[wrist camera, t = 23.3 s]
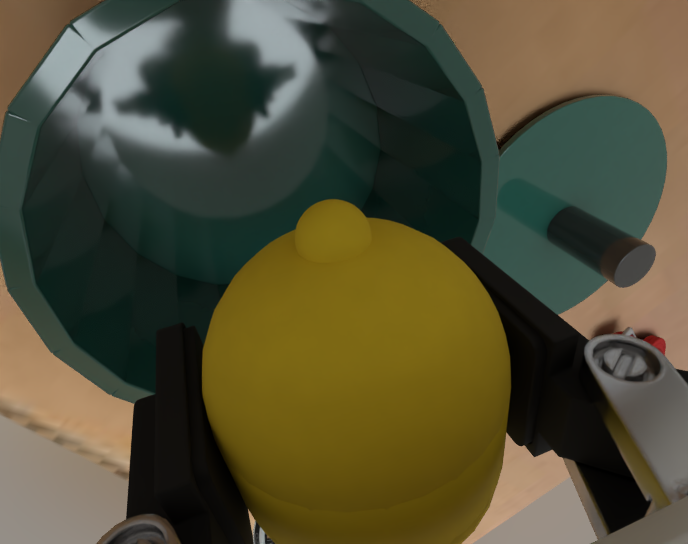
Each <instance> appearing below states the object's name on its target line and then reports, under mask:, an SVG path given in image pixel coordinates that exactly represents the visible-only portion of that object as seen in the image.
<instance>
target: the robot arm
mask: <svg viewBox="0 0 688 544" xmlns="http://www.w3.org/2000/svg"><path fill="white" fill-rule="evenodd" d="M440 243H441V244H443V245H444V246H446V247H447V248H448V249H449V250H450V251H452V252H453V253H454V254H455V255H456V256H458V257H459V258H460V259H461V260H462V261H464V263H465V264H466V265H467V266H468V267H469V268H470V269H471V270H472V271H473V273H474V274H475V275H476V276H477V278H478V279H479V281H480V282H481V283H482V285H483V286H484V288H485V289H486V291H487V292H488V294H489V295H490V297H491V299H492V301H493V303H494V305H495V307H496V309H497V311H498V313H499V316H500V319H501V322H502V325H503V328H504V331H505V334H506V339H507V344H508V349H509V354H510V367H511V393H510V402H509V411H508V421H507V430H506V432H507V433H508V435H509V436H510V437H511V438H512V440H513V441H514V442H515V443H516V444H517V445H519V446H523V445H525V446H526V448H527V449H528V450H529V451H530V453H531V454H532V455H533V456H534V457H536V456H538V455H541V454H543V453H545V452H548V451H550V450H552V449H553V450H554V452H555V453H556V454H557V455H558V456H559V457H562V458H563V460H564V462H565V465H566V467H567V469H568V472H569V474H570V476H571V479H572V481H573V483H574V486H575V488H576V490H577V492H578V495H579V497H580V499H581V502H582V504H583V506H584V509H585V511H586V513H587V515H588V518H589V520H590V522H591V525H592V527H593V530H594V532H595V534H596V536H597V539H598V540H597V541H595V542H593V543H591V544H688V371H683V370H678V369H675V368H674V367H673V365H672V364H671V363H670V362H669V360H668V359H667V358H666V357H665V356H664V355H663V354H662V353H661V352H660V351H659V350H658V349H657V348H656V347H654V346H652V345H651V344H649V343H647V342H646V341H643V340H641V339H638V338H635V337H633V336H627V335H622V334H605V335H600V336H597V337H595V338H593V339H591V340H588V339H586V338H585V337H584V336H583V335H581V334H580V333H579V332H578V331H577V330H575V329H574V328H573V327H572V326H570V325H569V324H568V323H567V322H566V321H564V320H563V319H562V318H561V317H559V316H558V315H557V314H556V313H554V312H553V311H552V310H551V309H549V308H548V307H547V306H546V305H545V304H543V303H542V302H541V301H540V300H538V299H537V298H536V297H535V296H533V295H532V294H531V293H530V292H528V291H527V290H526V289H525V288H524V287H522V286H521V285H520V284H519V283H517V282H516V281H515V280H514V279H512V278H511V277H510V276H509V275H507V274H506V273H505V272H504V271H503V270H501V269H500V268H499V267H498V266H496V265H495V264H494V263H493V262H491V261H490V260H489V259H488V258H487V257H485V256H484V255H483V254H482V253H480V252H479V251H478V250H477V249H475V248H474V247H473V246H472V245H470V244H469V243H468V242H467V241H466V240H464V239H463V238H461V237H456V238H452V239H449V240H446V241H443V242H440ZM203 347H204V345H203V343H202V341H201V338H200V336H199V334H198V331H197V329H196V327H195V326H191V327H188V328H186V326H185V324H184V323H183V322H182V323H179V324H175V325H172V326H169V327H166V328H162V329H159V330H157V333H156V390H155V394H153V395H150V396H147V397H144V398H141V399H138V400H137V401H136V402H135V404H134V411H133V426H132V441H131V456H130V471H129V486H128V501H127V516H126V520H124V521H122V522H121V523H119V524H117V525H115V526H114V527H113V528H112V529H111V530H110V531H108V532H107V533H106V534H105V535H104V536H102V537H101V539H100V540H99V541H98V542H97V544H254V542H253V536H252V530H251V525H250V519H249V513H248V508H247V506H246V504H245V502H244V500H243V498H242V496H241V494H240V492H239V490H238V488H237V485H236V483H235V481H234V479H233V477H232V475H231V473H230V471H229V469H228V467H227V465H226V463H225V461H224V459H223V457H222V455H221V452H220V450H219V448H218V446H217V444H216V441H215V439H214V436H213V433H212V430H211V426H210V423H209V420H208V416H207V412H206V408H205V404H204V400H203V396H202V356H203Z"/></svg>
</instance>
